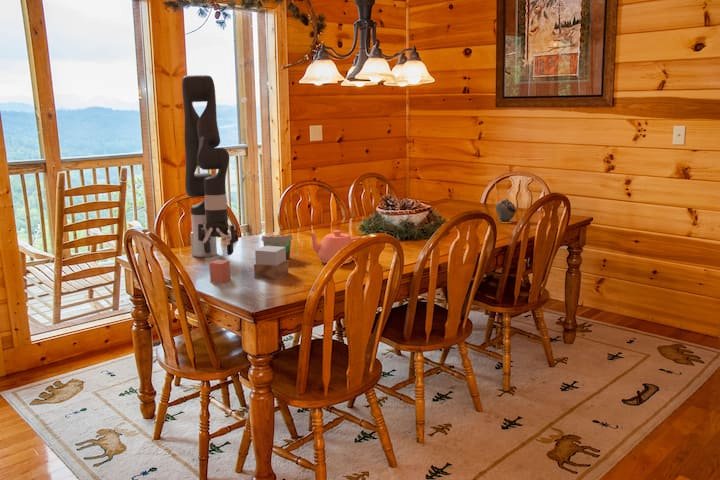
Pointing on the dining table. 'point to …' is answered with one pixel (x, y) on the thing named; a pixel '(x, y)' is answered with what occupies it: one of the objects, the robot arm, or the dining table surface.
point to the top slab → (270, 255)
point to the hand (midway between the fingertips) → (219, 253)
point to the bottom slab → (271, 270)
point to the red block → (220, 271)
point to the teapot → (331, 244)
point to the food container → (279, 242)
